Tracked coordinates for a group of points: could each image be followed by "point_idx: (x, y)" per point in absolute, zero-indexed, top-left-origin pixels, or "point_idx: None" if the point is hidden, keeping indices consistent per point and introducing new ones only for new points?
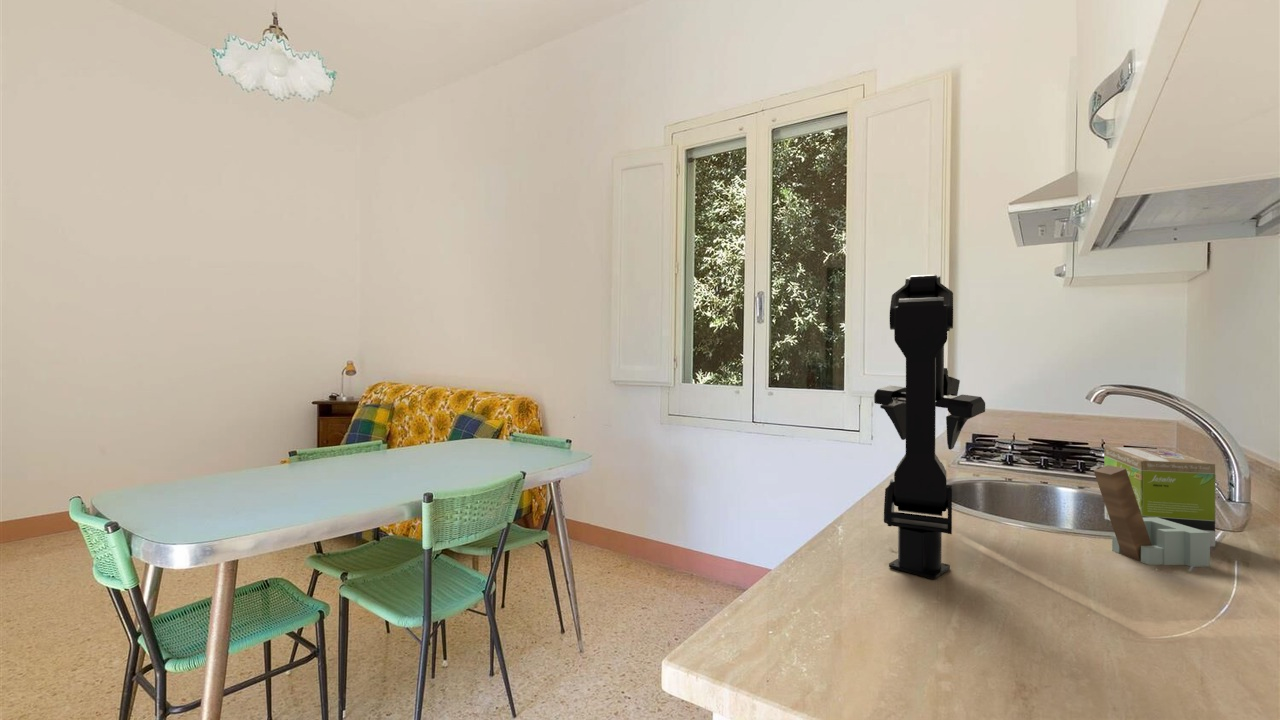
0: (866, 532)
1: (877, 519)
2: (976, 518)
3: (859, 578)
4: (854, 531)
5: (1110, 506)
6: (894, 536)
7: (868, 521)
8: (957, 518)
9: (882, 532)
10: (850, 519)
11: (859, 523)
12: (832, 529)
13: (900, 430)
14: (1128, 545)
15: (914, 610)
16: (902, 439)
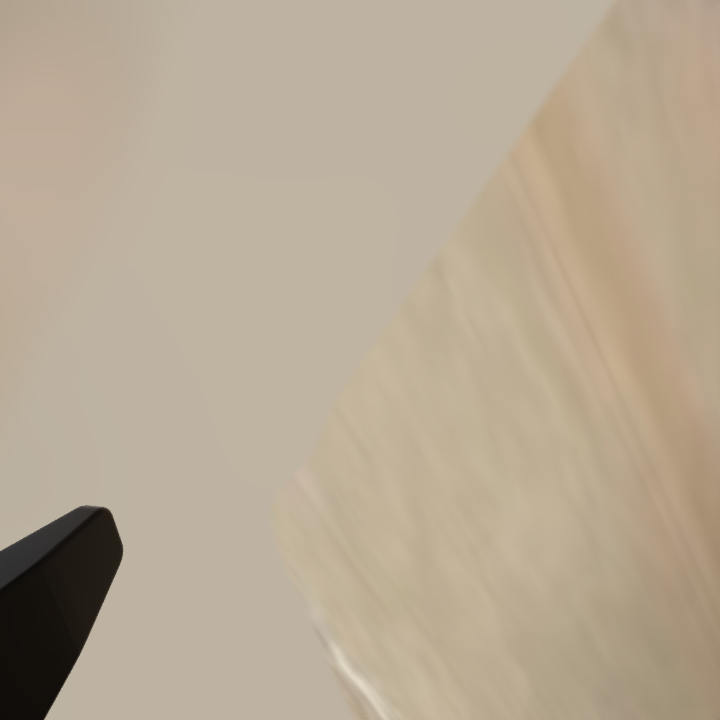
0: (439, 664)
1: (356, 477)
2: (694, 7)
3: None
4: (406, 678)
5: None
6: (536, 649)
7: (353, 530)
8: (603, 126)
9: (477, 630)
10: (297, 551)
11: (352, 578)
12: (347, 699)
13: (47, 706)
14: None
15: None
16: (114, 559)
